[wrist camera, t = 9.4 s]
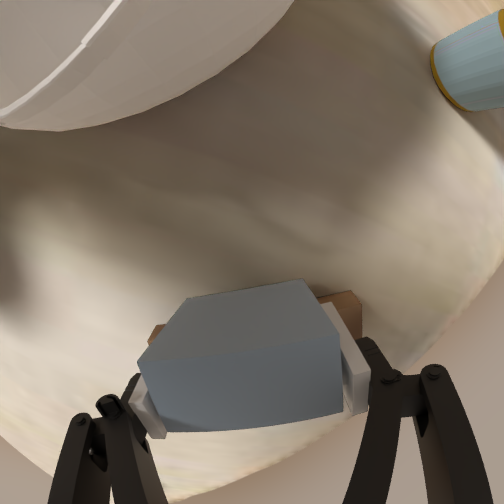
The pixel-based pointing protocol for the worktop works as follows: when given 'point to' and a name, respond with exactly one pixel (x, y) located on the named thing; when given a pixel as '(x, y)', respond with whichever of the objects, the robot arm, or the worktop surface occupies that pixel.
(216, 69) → the pot
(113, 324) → the worktop surface
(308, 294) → the slab
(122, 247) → the worktop surface
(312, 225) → the worktop surface
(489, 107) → the bottle
